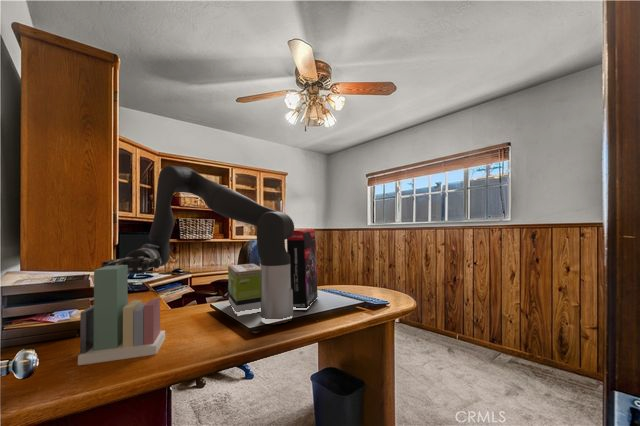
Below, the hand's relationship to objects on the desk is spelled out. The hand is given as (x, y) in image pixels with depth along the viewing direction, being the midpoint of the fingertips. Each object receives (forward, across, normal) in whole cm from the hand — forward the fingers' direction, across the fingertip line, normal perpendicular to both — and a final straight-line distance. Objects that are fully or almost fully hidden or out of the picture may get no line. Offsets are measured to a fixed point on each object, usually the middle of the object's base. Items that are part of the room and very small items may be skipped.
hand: (125, 267), depth 78 cm
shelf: (+10, +3, +18) cm, 21 cm away
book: (+10, 0, +17) cm, 19 cm away
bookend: (+10, -4, +17) cm, 20 cm away
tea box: (-14, +33, +19) cm, 40 cm away
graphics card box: (-11, +53, +19) cm, 57 cm away
